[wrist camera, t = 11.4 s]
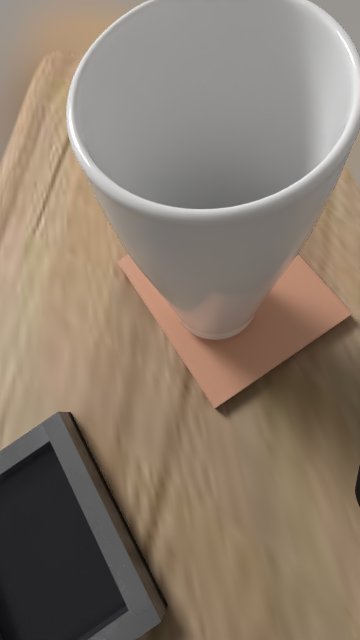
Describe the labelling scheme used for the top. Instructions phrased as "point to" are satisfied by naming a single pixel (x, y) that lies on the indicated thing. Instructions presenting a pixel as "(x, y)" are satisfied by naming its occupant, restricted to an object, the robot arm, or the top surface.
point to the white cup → (215, 144)
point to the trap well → (67, 545)
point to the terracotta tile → (249, 330)
